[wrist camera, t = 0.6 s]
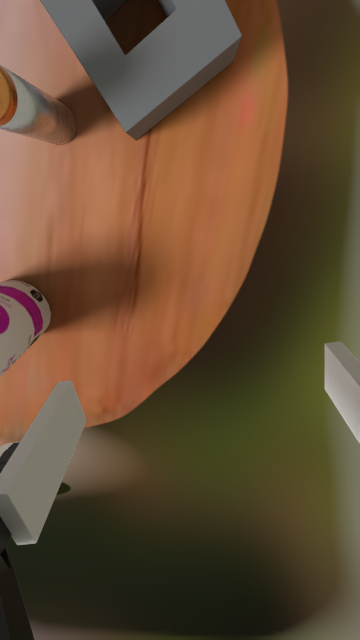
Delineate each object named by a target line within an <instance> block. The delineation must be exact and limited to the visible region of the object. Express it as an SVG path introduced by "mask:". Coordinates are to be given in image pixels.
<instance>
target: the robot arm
mask: <svg viewBox="0 0 360 640" xmlns="http://www.w3.org/2000/svg"><path fill="white" fill-rule="evenodd" d="M325 390H326V392H327V393H328V395H329V397H330V398H331V400H332V401H333V403H334V404H335V406H336V407H337V409H338V411H339V412H340V414H341V415H342V417H343V418H344V420H345V422H346V423H347V425H348V426H349V428H350V429H351V431H352V432H353V434H354V436H355V437H356V439H357V440H358V442H359V443H360V362H359V361H358V360H357V359H356V357H355V356H354V355H353V354H352V353H351V352H350V351H349V350H348V349H347V348H346V347H345V345H344V344H342V342H334V343H327V344H325ZM86 421H87V420H86V417H85V415H84V412H83V409H82V407H81V404H80V402H79V399H78V396H77V394H76V391H75V389H74V386H73V383H72V381H71V380H70V381H63V382H58V383H57V384H56V386H55V387H54V389H53V391H52V392H51V394H50V395H49V397H48V399H47V400H46V402H45V403H44V405H43V406H42V408H41V410H40V411H39V413H38V414H37V416H36V418H35V419H34V421H33V422H32V424H31V426H30V427H29V429H28V430H27V432H26V433H25V435H24V437H23V438H22V440H21V441H20V442H19V443H13V444H12V445H11V446H10V447H9V448H8V449H7V450H6V451H5V452H4V453H3V454H2V456H1V457H0V640H34V637H33V633H32V630H31V626H30V623H29V619H28V616H27V612H26V609H25V605H24V602H23V598H22V595H21V591H20V588H19V584H18V581H17V577H16V574H15V570H14V567H13V563H12V559H11V556H10V553H9V550H8V549H7V547H6V544H7V542H8V540H9V538H10V536H12V538H13V539H14V541H15V542H16V544H17V545H22V544H33V543H36V542H37V540H38V537H39V535H40V533H41V530H42V528H43V525H44V523H45V520H46V518H47V516H48V513H49V511H50V508H51V506H52V503H53V501H54V499H55V496H56V494H57V491H58V489H59V486H60V484H61V482H62V479H63V477H64V474H65V472H66V469H67V467H68V465H69V462H70V460H71V457H72V455H73V453H74V450H75V448H76V445H77V443H78V440H79V438H80V435H81V433H82V431H83V428H84V426H85V423H86Z"/></svg>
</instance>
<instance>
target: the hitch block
mask: <svg viewBox="0 0 360 640" xmlns="http://www.w3.org/2000/svg"><path fill="white" fill-rule="evenodd" d="M40 1H41V2H42V4H43V5H44V7H45V9H46V10H47V12H48V13H49V15H50V16H51V18H52V19H53V21H54V22H55V24H56V26H57V27H58V29H59V30H60V32H61V33H62V35H63V36H64V38H65V39H66V41H67V43H68V44H69V46H70V47H71V49H72V50H73V52H74V53H75V55H76V56H77V58H78V59H79V61H80V63H81V64H82V66H83V67H84V69H85V70H86V72H87V73H88V75H89V76H90V78H91V80H92V81H93V83H94V84H95V86H96V87H97V89H98V90H99V92H100V93H101V95H102V97H103V98H104V100H105V101H106V103H107V104H108V106H109V107H110V109H111V110H112V112H113V113H114V115H115V117H116V118H117V120H118V121H119V123H120V124H121V126H122V127H123V129H124V130H125V132H126V133H127V134H129V135H130V136H131V137H133V138H134V139H135V140H137V139H139V138H140V137H141V136H142V135H144V134H145V133H146V132H147V131H148V130H150V129H151V128H152V127H153V126H155V125H156V124H157V123H158V122H160V121H161V120H162V119H163V118H164V117H166V116H167V115H168V114H169V113H171V112H172V111H173V110H174V109H175V108H177V107H178V106H179V105H180V104H182V103H183V102H184V101H185V100H187V99H188V98H189V97H190V96H191V95H193V94H194V93H195V92H196V91H198V90H199V89H200V88H201V87H203V86H204V85H205V84H206V83H207V82H209V81H210V80H211V79H212V78H214V77H215V76H216V75H217V74H219V73H220V72H221V71H222V70H223V69H225V68H226V67H227V66H228V65H230V64H231V63H232V62H233V61H234V58H235V55H236V52H237V49H238V46H239V43H240V40H241V38H242V35H241V33H240V30H239V28H238V26H237V24H236V22H235V20H234V18H233V16H232V14H231V12H230V10H229V8H228V6H227V4H226V1H225V0H158V1H159V3H160V5H161V7H162V9H163V11H164V13H165V14H166V16H167V18H166V19H165V20H164V21H163V22H162V23H161V24H160V25H159V26H158V27H156V28H155V29H154V30H153V31H152V32H151V33H150V34H149V35H148V36H147V37H145V38H144V39H143V40H142V41H141V42H140V43H139V44H138V45H137V46H135V47H134V48H133V49H132V50H131V51H130V52H129V53H128V54H127V55H126V56H125V54H124V53H123V51H122V49H121V48H120V46H119V44H118V43H117V41H116V39H115V38H114V36H113V34H112V33H111V31H110V29H109V28H108V26H107V25H106V23H105V21H106V20H107V19H108V18H109V17H110V16H111V15H113V14H114V13H115V12H116V11H117V10H118V9H119V8H120V7H121V6H122V5H123V4H124V3H125V2H126V1H127V0H40Z"/></svg>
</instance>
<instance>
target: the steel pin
mask: <svg viewBox="0 0 360 640" xmlns="http://www.w3.org/2000/svg"><path fill="white" fill-rule="evenodd" d="M0 129H2V130H6V131H9V132H13V133H17V134H20V135H24V136H27V137H31V138H35V139H38V140H42V141H45V142H49V143H53V144H56V145H64V144H67V143H69V142H70V141H71V140H72V139H73V137H74V135H75V132H76V120H75V117H74V115H73V113H72V111H71V110H70V109H69V108H68V107H67V106H66V105H65V104H63V103H61V102H60V101H58V100H57V99H55V98H53V97H52V96H50V95H48V94H47V93H45V92H43V91H42V90H40V89H39V88H37V87H35V86H34V85H32V84H30V83H29V82H27V81H25V80H24V79H22V78H21V77H19V76H17V75H16V74H14V73H12V72H11V71H9V70H7V69H6V68H4V67H3V66H1V65H0Z"/></svg>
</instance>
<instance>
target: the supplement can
mask: <svg viewBox="0 0 360 640" xmlns="http://www.w3.org/2000/svg"><path fill="white" fill-rule="evenodd" d="M50 318H51V312H50V308H49V304H48V302H47V301H46V299H45V297H44V296H43V294H42V293H41V292H39V291H38V290H37V289H36V288H35V287H34V286H32V285H29V284H27V283H25V282H23V281H15V280H9V281H5V282H1V283H0V376H1V375H2V374H3V373H4V372H5V371H6V370H7V369H8V368H9V367H10V366H11V365H12V364H13V363H14V362H15V361H16V360H17V359H18V358H19V357H20V356H21V355H22V354H23V353H24V352H25V351H26V350H27V349H28V348H29V347H30V346H31V345H32V344H33V343H34V342H35V341H36V340H37V339H38V338H39V337H40V336H41V335H42V334H43V333H44V332H45V330H46V329H47V327H48V325H49V324H50Z"/></svg>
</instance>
